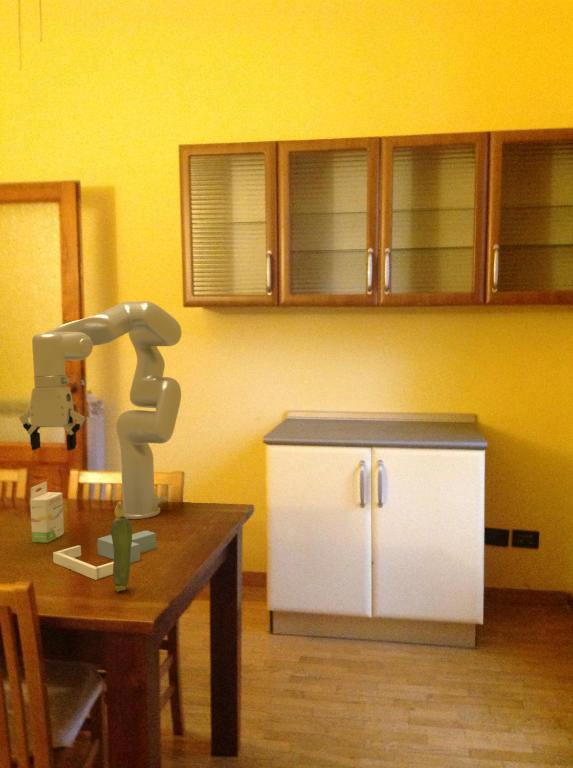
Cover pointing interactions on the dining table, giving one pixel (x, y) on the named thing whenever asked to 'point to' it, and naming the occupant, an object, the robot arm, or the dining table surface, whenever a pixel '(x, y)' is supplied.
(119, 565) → the vegetable
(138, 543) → the t block
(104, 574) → the dock
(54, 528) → the ink box
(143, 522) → the dining table surface
